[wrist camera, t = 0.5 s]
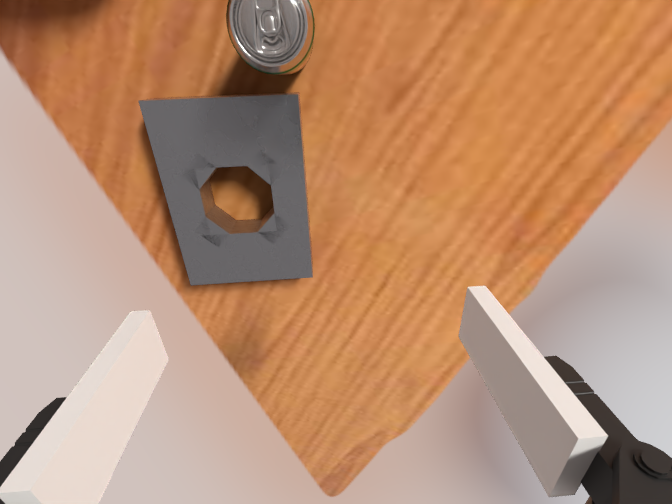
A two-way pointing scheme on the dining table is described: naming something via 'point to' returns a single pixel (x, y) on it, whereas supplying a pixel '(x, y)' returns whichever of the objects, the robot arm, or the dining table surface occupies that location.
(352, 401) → the dining table surface
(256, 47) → the soda can
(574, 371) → the robot arm
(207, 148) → the plate
